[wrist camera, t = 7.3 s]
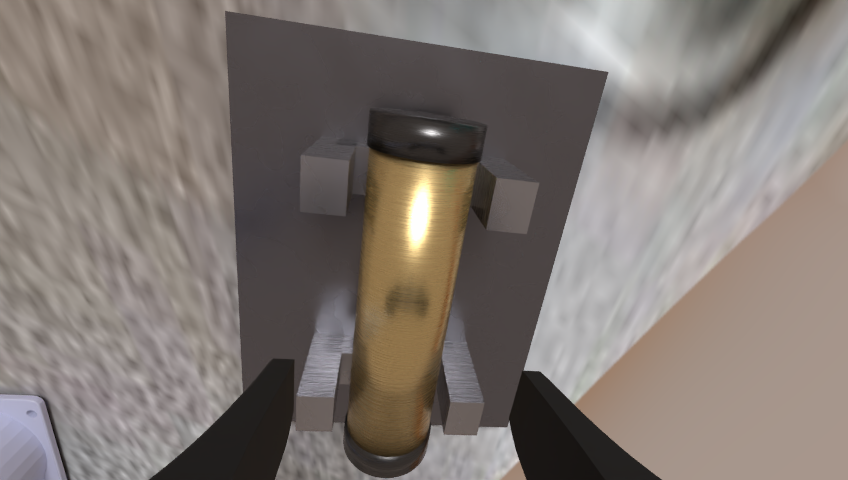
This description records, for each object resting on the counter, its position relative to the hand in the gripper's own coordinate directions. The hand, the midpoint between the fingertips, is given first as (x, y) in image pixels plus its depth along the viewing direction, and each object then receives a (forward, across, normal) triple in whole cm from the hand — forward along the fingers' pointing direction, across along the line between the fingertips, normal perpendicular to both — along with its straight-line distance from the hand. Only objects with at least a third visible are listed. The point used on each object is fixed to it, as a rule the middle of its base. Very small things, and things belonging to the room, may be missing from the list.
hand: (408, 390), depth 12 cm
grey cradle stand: (+9, 0, 0) cm, 9 cm away
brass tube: (+7, 0, 0) cm, 7 cm away
